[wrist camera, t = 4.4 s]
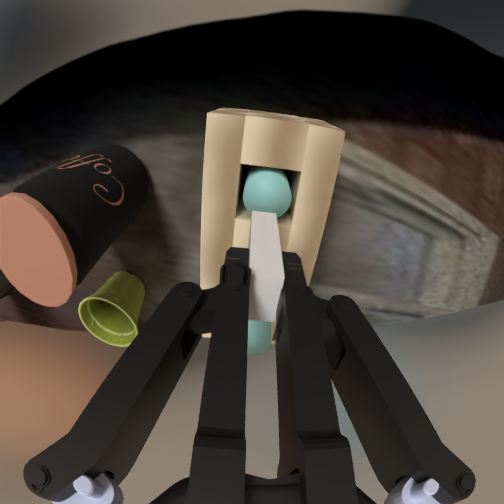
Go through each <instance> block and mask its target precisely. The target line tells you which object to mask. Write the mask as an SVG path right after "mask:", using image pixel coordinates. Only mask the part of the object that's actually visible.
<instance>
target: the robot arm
mask: <svg viewBox="0 0 504 504" xmlns="http://www.w3.org/2000/svg"><path fill="white" fill-rule="evenodd" d="M16 290H17V289H16V288H15V287H14V286H13V285H12V284H11V283H10V281H9V280H8V279H7V277H6V276H5V274H4V273H3V272H2V270H1V269H0V299H2V298H4V297H6V296H8V295H9V294H11V293H13V292H15V291H16ZM275 318H276V321H277V323H276V327H275V331H274V335H273V339H272V341H275V345H276V365H277V366H276V367H277V391H278V415H279V448H280V460H279V465H278V472H277V478H276V479H265V478H261V477H257V476H253V475H249V474H245V462H246V461H245V460H246V440H245V408H246V405H245V404H246V377H247V348H248V320H254V321H266V322H275ZM206 333H211V338H210V345H209V351H208V358H207V365H206V371H205V378H204V385H203V392H202V399H201V406H200V414H199V421H198V428H197V432H196V435H195V438H194V444H193V452H192V460H191V468H190V476H189V477H187V478H185V479H182V480H180V481H179V482H177V483H175V484H173V485H172V486H171V487H169V488H168V489H167V490H166V491H164V492H163V493H162V494H161V495H160V496H158V497H157V498H156V499H154V500H153V501H152V502H150V503H149V504H376V503H375V502H374V501H373V500H371V499H370V498H369V497H368V496H367V495H366V494H365V493H364V492H363V491H361V489H359V488H358V487H357V486H356V484H355V476H354V469H353V462H352V456H351V449H350V444H349V441H348V439H347V438H346V437H345V436H342V435H341V433H340V430H339V423H338V417H337V411H336V405H335V399H334V393H333V388H332V382H331V379H332V381H333V383H334V385H335V387H336V390H337V392H338V394H339V396H340V398H341V401H342V403H343V405H344V407H345V409H346V411H347V413H348V416H349V418H350V420H351V422H352V424H353V426H354V428H355V431H356V433H357V435H358V437H359V440H360V442H361V444H362V446H363V448H364V450H365V453H366V455H367V457H368V459H369V462H370V464H371V466H372V468H373V470H374V472H375V474H376V476H377V478H378V480H379V482H380V483H381V484H382V486H383V487H384V489H385V490H386V491H387V492H388V493H389V494H388V497H387V498H386V500H385V502H384V504H454V503H456V502H459V501H461V500H464V499H465V498H467V497H469V496H470V495H471V493H472V492H473V490H474V487H475V481H476V479H475V475H474V473H473V472H472V470H471V469H470V468H468V466H466V465H465V464H464V463H463V462H462V461H461V460H460V459H459V458H458V457H457V456H456V455H454V454H453V453H452V452H451V451H450V450H449V449H448V448H447V447H446V446H445V445H444V444H443V443H442V442H441V440H440V438H439V436H438V434H437V432H436V431H435V429H434V427H433V425H432V424H431V422H430V420H429V418H428V417H427V415H426V413H425V411H424V410H423V408H422V406H421V404H420V403H419V401H418V399H417V398H416V396H415V394H414V393H413V391H412V389H411V388H410V386H409V384H408V383H407V381H406V380H405V378H404V376H403V375H402V373H401V371H400V370H399V368H398V367H397V365H396V363H395V362H394V360H393V359H392V357H391V356H390V354H389V352H388V351H387V349H386V348H385V346H384V345H383V343H382V342H381V340H380V339H379V337H378V336H377V334H376V332H375V331H374V329H373V328H372V326H371V325H370V323H369V322H368V320H367V319H366V318H365V316H364V315H363V313H362V312H361V310H360V309H359V307H358V306H357V304H356V303H355V302H354V301H353V300H352V299H351V298H349V297H347V296H344V295H335V296H333V297H331V298H330V300H329V301H328V300H325V299H321V298H319V297H316V296H315V295H313V291H312V290H311V288H310V287H308V286H307V284H306V279H305V275H304V270H303V266H302V261H301V258H300V257H299V256H298V255H297V253H294V252H285V251H281V245H280V238H279V230H278V223H277V216H276V213H269V212H260V211H252V215H251V223H250V232H249V240H248V248H239V247H230V248H229V249H228V250H227V251H226V256H225V261H224V265H222V266H221V268H220V282H219V284H218V285H217V286H215V287H213V288H209V289H201V287H200V286H199V285H197V284H195V283H193V282H181V283H179V284H176V285H175V286H174V287H173V288H172V289H171V291H170V292H169V293H168V294H167V296H166V297H165V298H164V300H163V301H162V302H161V304H160V305H159V306H158V308H157V309H156V310H155V311H154V313H153V314H152V315H151V317H150V318H149V319H148V321H147V322H146V323H145V325H144V326H143V327H142V329H141V330H140V331H139V333H138V334H137V336H136V337H135V338H134V340H133V341H132V342H131V344H130V345H129V346H128V348H127V349H126V351H125V352H124V354H123V355H122V356H121V358H120V359H119V360H118V362H117V363H116V364H115V366H114V367H113V369H112V370H111V371H110V373H109V374H108V376H107V377H106V379H105V380H104V381H103V383H102V384H101V386H100V387H99V389H98V390H97V392H96V393H95V394H94V396H93V397H92V399H91V400H90V402H89V403H88V405H87V406H86V408H85V409H84V411H83V412H82V414H81V415H80V417H79V418H78V420H77V421H76V423H75V424H74V426H73V427H72V429H71V430H70V432H69V433H68V434H66V435H65V436H64V437H62V438H61V439H59V440H58V441H57V442H55V443H54V444H52V445H51V446H49V447H48V448H47V449H45V450H44V451H42V452H41V453H39V454H38V455H37V456H35V457H34V458H32V459H31V460H29V461H28V463H27V464H26V465H25V467H24V471H23V474H24V480H25V483H26V485H27V487H28V488H29V489H30V490H31V491H32V492H33V493H34V494H36V495H38V496H39V497H42V498H44V499H47V500H49V501H51V502H53V504H123V499H124V498H123V493H122V490H121V489H120V487H119V486H118V485H119V484H120V483H121V482H122V481H123V479H124V478H125V477H126V476H127V475H128V473H129V472H130V470H131V468H132V467H133V465H134V463H135V461H136V460H137V458H138V456H139V454H140V452H141V450H142V448H143V446H144V444H145V442H146V441H147V439H148V437H149V435H150V433H151V431H152V429H153V427H154V426H155V423H156V421H157V420H158V418H159V416H160V414H161V412H162V410H163V408H164V407H165V405H166V403H167V401H168V399H169V397H170V395H171V393H172V392H173V390H174V388H175V386H176V384H177V382H178V380H179V378H180V377H181V375H182V373H183V371H184V369H185V367H186V365H187V364H188V362H189V360H190V358H191V356H192V354H193V352H194V350H195V349H196V347H197V345H198V343H199V341H200V339H201V337H202V334H206Z"/></svg>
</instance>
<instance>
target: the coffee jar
mask: <svg viewBox="0 0 504 504" xmlns="http://www.w3.org/2000/svg"><path fill="white" fill-rule="evenodd" d="M146 197H147V178H146V174H145V170H144V168H143V166H142V164H141V162H140V161H139V159H138V158H137V157H136V156H135V155H134V154H133V153H132V152H131V151H130V150H129V149H127V148H125V147H122V146H120V145H118V144H112V143H103V144H100V145H97V146H94V147H92V148H90V149H88V150H85V151H83V152H81V153H79V154H77V155H75V156H72V157H70V158H68V159H66V160H64V161H62V162H60V163H58V164H56V165H54V166H53V167H51V168H49V169H47V170H45V171H43V172H41V173H40V174H38V175H36V176H34V177H32V178H31V179H29V180H27V181H25V182H24V183H22V184H20V185H19V186H17V187H16V188H15V189H14V190H13V192H12V193H10V194H7V195H5V196H3V197H1V198H0V269H1V270H2V272H3V273H4V274H5V276H6V277H7V279H8V280H9V281H10V283H11V284H12V285H13V286H14V287H15V288H16V289H17V290H18V291H19V292H20V293H21V294H23V295H24V296H26V297H27V298H29V299H30V300H32V301H33V302H35V303H38V304H41V305H43V306H47V307H58V306H60V305H62V304H64V303H66V302H67V301H68V299H69V298H70V296H71V294H72V293H73V291H74V289H75V288H76V286H77V285H79V284H80V283H81V282H82V281H83V279H84V278H85V277H86V275H87V274H88V273H89V271H90V270H91V269H92V268H93V266H94V265H95V264H96V262H97V261H98V260H99V259H100V257H101V256H102V255H103V254H104V252H105V251H106V250H107V249H108V247H109V246H110V245H111V244H112V243H113V241H114V240H115V239H116V238H117V237H118V235H119V234H120V233H121V232H122V231H123V230H124V228H125V227H126V226H127V225H128V224H129V223H130V222H131V220H132V219H133V218H134V217H135V216H136V215H137V213H138V212H139V211H140V210H141V209H142V207H143V205H144V202H145V200H146Z"/></svg>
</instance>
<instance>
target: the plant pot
mask: <svg viewBox="0 0 504 504" xmlns="http://www.w3.org/2000/svg"><path fill="white" fill-rule="evenodd" d="M144 296H145V287H144V285H143V283H142V281H141V280H140V279H139V278H138V277H137V276H136V275H133V274H130V273H128V272H126V271H118V272H116V273H114V274H113V275H112V276H111V277H110V278H109V279H108V280H107V281H106V282H105V283H104V284H103V285H102V286H101V287H100V288H99V289H98V290H97V291H96V292H95V293H94V294H92V295H91V296H90V297H87V298H85V299H83V300H82V301H81V303H80V305H79V309H78V312H79V317H80V319H81V321H82V323H83V324H84V326H85V327H86V328H87V330H88V331H89V332H90V333H91V334H93V335H94V336H95V337H97V338H98V339H100V340H101V341H103V342H105V343H108V344H110V345H114V346H120V347H125V346H129V345H130V344H131V342H132V341H133V340H134V338H135V337H136V336H137V334H138V328H137V327H138V322H137V321H138V318H139V314H140V310H141V307H142V303H143V300H144Z"/></svg>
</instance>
